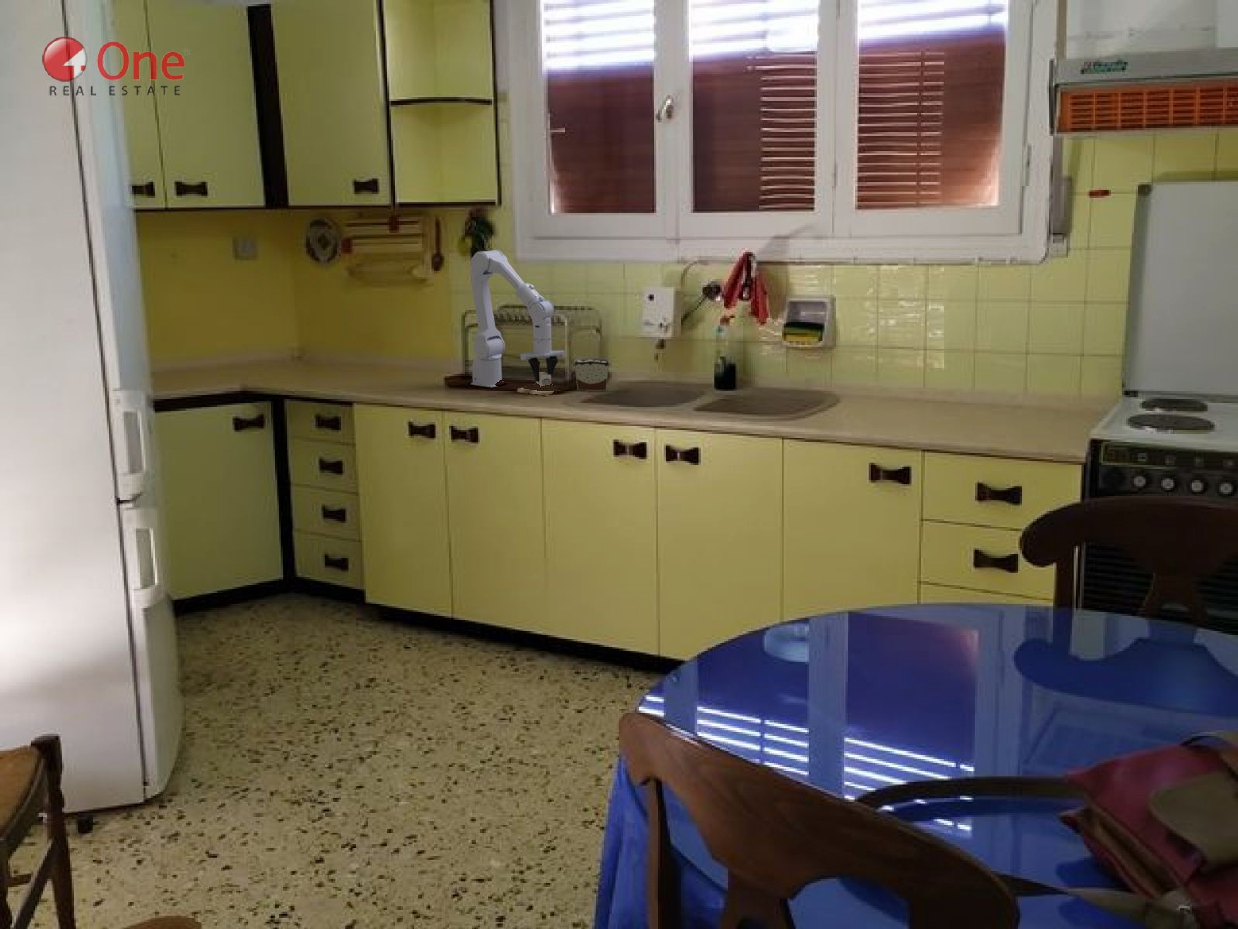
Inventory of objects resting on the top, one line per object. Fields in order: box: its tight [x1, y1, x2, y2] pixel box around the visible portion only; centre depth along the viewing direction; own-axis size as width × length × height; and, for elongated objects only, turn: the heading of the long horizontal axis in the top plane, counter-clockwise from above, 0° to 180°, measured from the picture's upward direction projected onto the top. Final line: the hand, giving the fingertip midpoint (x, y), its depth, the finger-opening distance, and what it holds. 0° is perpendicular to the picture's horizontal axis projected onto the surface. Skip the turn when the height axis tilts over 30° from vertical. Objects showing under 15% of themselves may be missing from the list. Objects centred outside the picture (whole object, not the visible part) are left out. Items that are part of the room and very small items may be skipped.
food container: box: [572, 356, 611, 392], centre depth 382 cm, size 12×6×10 cm, turn 84°
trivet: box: [517, 387, 554, 397], centre depth 380 cm, size 12×12×1 cm
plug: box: [535, 371, 552, 387], centre depth 379 cm, size 8×4×4 cm, turn 24°
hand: (543, 380), depth 379 cm, fingers closed on plug, 4 cm apart
